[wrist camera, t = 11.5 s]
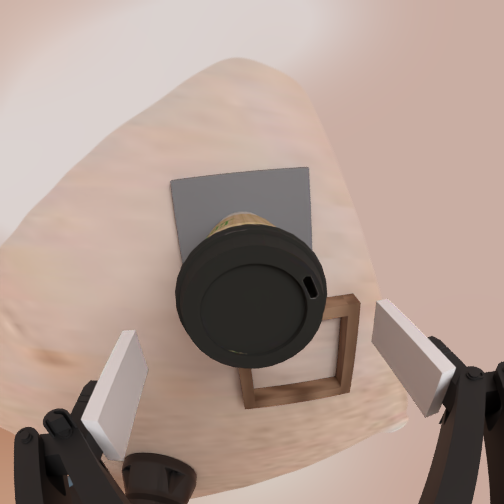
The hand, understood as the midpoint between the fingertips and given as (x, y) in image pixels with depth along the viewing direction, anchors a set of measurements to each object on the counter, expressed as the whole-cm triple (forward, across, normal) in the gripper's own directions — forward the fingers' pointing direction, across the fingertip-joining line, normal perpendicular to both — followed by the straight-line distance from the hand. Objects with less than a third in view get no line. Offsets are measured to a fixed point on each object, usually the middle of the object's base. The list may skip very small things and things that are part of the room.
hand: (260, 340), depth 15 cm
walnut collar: (+18, +6, -15) cm, 25 cm away
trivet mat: (+18, 0, +1) cm, 18 cm away
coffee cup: (+18, 0, 0) cm, 18 cm away
